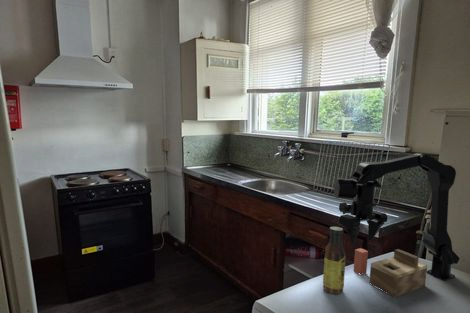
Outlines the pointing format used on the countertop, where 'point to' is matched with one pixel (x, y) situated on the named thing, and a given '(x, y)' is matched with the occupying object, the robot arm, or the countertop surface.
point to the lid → (399, 264)
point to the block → (360, 260)
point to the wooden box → (397, 281)
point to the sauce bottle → (334, 262)
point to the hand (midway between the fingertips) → (361, 242)
